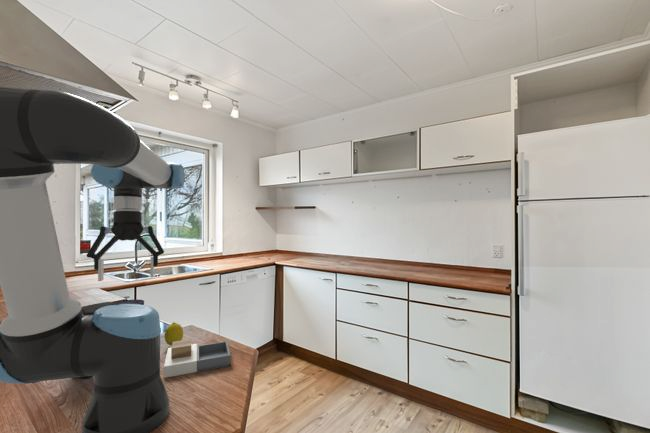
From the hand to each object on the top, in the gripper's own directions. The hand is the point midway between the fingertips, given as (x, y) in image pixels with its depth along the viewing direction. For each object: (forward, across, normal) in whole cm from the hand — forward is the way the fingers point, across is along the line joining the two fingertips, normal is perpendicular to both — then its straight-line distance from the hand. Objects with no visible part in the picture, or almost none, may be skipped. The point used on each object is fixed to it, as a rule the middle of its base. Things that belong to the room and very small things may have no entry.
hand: (127, 278), depth 95 cm
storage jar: (+24, +1, -6) cm, 24 cm away
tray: (+24, -24, +15) cm, 37 cm away
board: (+24, -16, +14) cm, 32 cm away
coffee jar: (+24, +6, +7) cm, 26 cm away
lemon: (+24, -13, -1) cm, 27 cm away
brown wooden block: (+21, -16, +14) cm, 30 cm away
